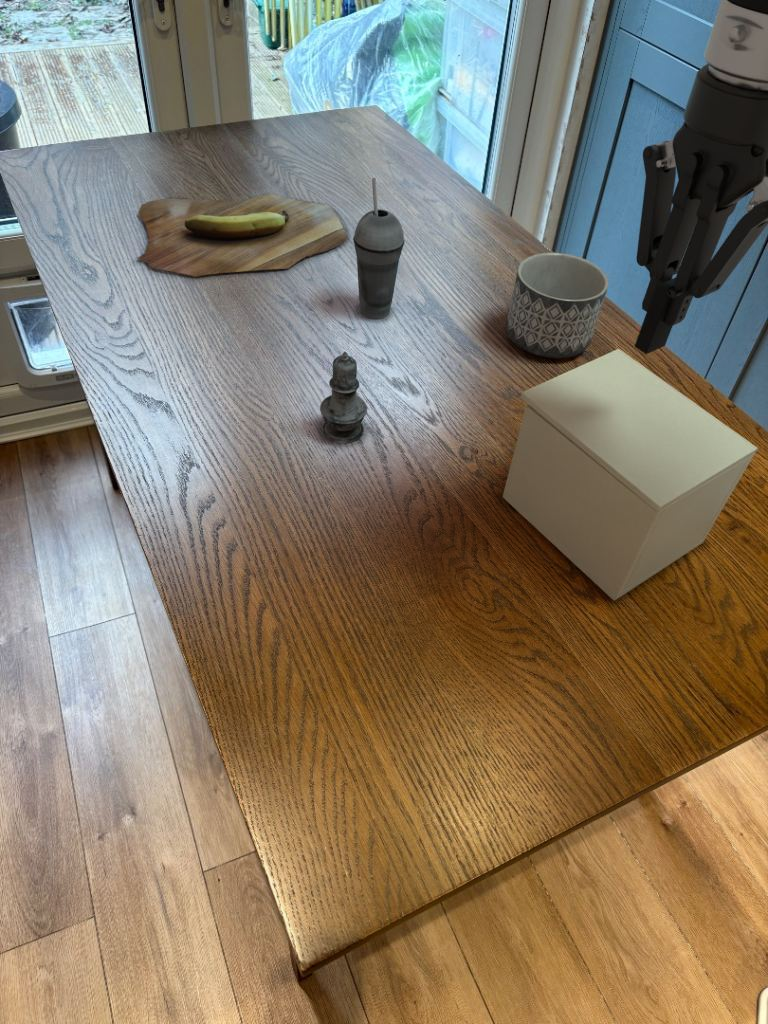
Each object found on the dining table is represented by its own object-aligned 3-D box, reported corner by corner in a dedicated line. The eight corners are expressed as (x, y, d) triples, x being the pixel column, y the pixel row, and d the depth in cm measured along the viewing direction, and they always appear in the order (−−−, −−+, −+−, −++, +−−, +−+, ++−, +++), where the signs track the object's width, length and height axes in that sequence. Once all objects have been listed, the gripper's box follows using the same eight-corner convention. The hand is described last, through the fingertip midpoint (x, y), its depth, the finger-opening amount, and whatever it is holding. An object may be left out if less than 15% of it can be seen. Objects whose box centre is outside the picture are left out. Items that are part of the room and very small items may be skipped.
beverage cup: (390, 329, 111) (399, 196, 96) (344, 318, 112) (346, 185, 98) (404, 304, 116) (416, 174, 101) (360, 293, 117) (365, 164, 102)
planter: (494, 350, 109) (507, 286, 101) (516, 306, 117) (530, 244, 109) (579, 373, 106) (599, 310, 99) (596, 327, 115) (615, 265, 107)
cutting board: (139, 283, 115) (134, 260, 112) (132, 202, 133) (128, 180, 130) (360, 265, 123) (361, 243, 120) (326, 190, 140) (326, 169, 137)
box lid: (519, 397, 79) (521, 392, 78) (616, 354, 85) (618, 348, 85) (657, 512, 69) (660, 507, 69) (754, 453, 76) (758, 448, 75)
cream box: (502, 497, 89) (525, 406, 79) (589, 451, 96) (622, 361, 85) (614, 601, 80) (657, 513, 69) (703, 542, 86) (754, 454, 76)
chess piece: (356, 450, 93) (359, 372, 84) (312, 437, 94) (311, 359, 85) (372, 421, 97) (377, 344, 88) (330, 409, 98) (331, 332, 89)
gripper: (649, 53, 56) (573, 324, 73) (801, 112, 49) (678, 395, 67) (712, 40, 59) (624, 303, 77) (862, 94, 52) (729, 369, 70)
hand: (649, 345), depth 72 cm, fingers closed
